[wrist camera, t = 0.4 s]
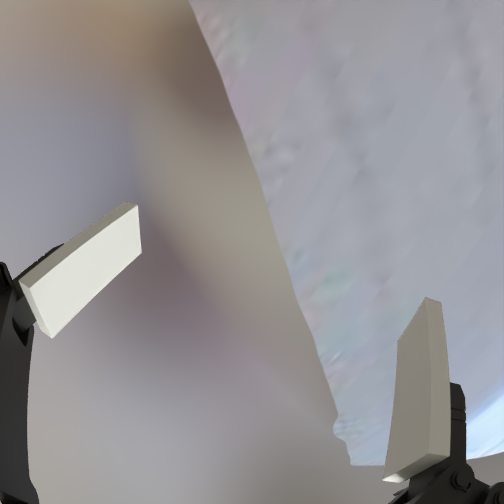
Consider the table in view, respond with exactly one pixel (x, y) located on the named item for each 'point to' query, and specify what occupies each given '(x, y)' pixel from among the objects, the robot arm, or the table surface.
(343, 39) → the table surface
